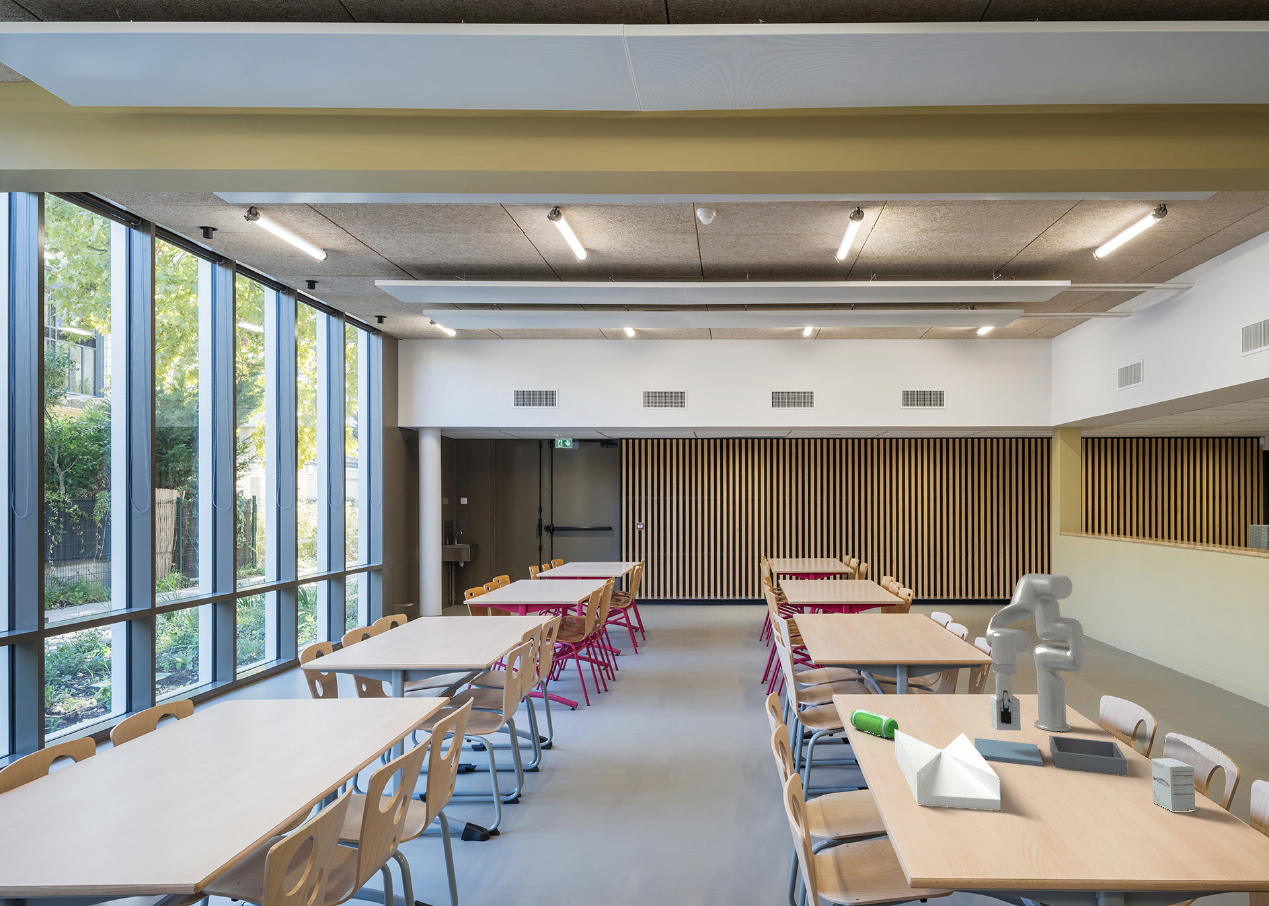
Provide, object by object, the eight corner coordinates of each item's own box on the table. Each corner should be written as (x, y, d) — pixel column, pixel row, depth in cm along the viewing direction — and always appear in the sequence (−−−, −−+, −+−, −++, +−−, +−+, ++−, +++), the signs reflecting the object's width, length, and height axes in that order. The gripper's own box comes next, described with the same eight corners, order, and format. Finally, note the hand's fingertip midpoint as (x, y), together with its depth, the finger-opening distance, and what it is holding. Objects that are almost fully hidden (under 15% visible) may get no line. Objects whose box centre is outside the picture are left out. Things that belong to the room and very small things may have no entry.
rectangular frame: (1049, 750, 271) (1049, 735, 271) (1116, 757, 263) (1115, 742, 264) (1056, 767, 253) (1055, 752, 253) (1127, 776, 245) (1127, 759, 245)
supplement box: (1152, 803, 223) (1149, 758, 223) (1176, 802, 223) (1174, 757, 224) (1171, 813, 215) (1169, 766, 216) (1196, 812, 216) (1194, 765, 217)
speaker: (899, 738, 286) (899, 717, 286) (886, 741, 282) (886, 720, 283) (862, 726, 301) (862, 706, 301) (849, 729, 297) (849, 709, 297)
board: (974, 742, 280) (974, 737, 280) (1036, 748, 273) (1036, 744, 273) (975, 758, 262) (975, 754, 262) (1042, 766, 254) (1042, 761, 254)
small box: (1014, 726, 270) (1013, 695, 271) (1021, 730, 265) (1020, 699, 265) (990, 725, 271) (990, 694, 272) (996, 730, 265) (995, 698, 266)
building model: (895, 757, 265) (894, 728, 266) (963, 760, 261) (962, 732, 262) (917, 806, 221) (916, 772, 222) (1000, 812, 217) (999, 777, 217)
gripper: (991, 662, 279) (992, 713, 277) (993, 671, 263) (994, 725, 261) (1014, 664, 276) (1016, 715, 274) (1017, 673, 260) (1019, 728, 259)
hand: (1005, 720), depth 268 cm, fingers closed on small box, 6 cm apart
